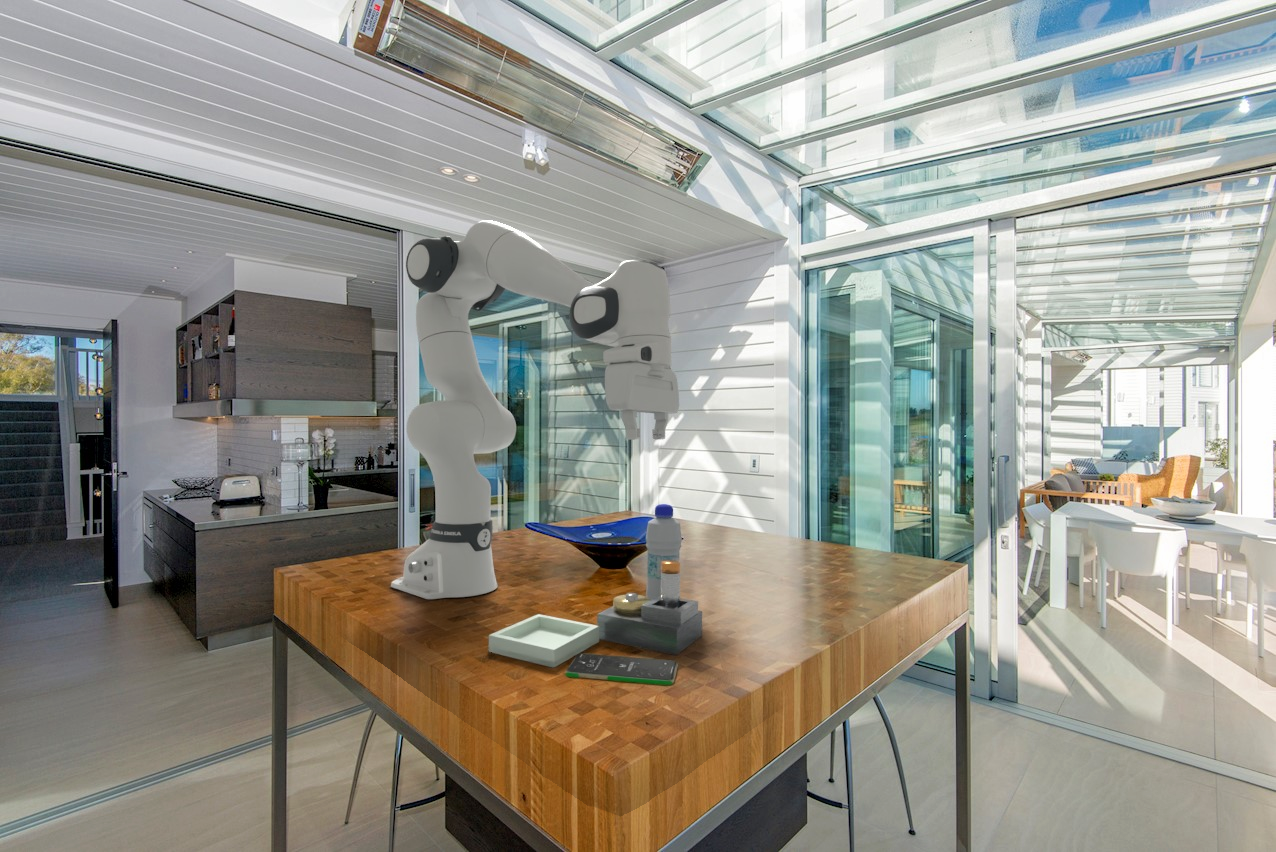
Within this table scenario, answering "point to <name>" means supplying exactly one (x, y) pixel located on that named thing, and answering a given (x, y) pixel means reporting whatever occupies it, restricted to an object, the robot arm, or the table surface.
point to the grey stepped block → (650, 623)
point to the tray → (544, 640)
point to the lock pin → (670, 584)
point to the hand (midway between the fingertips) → (646, 439)
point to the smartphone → (623, 669)
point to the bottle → (661, 546)
